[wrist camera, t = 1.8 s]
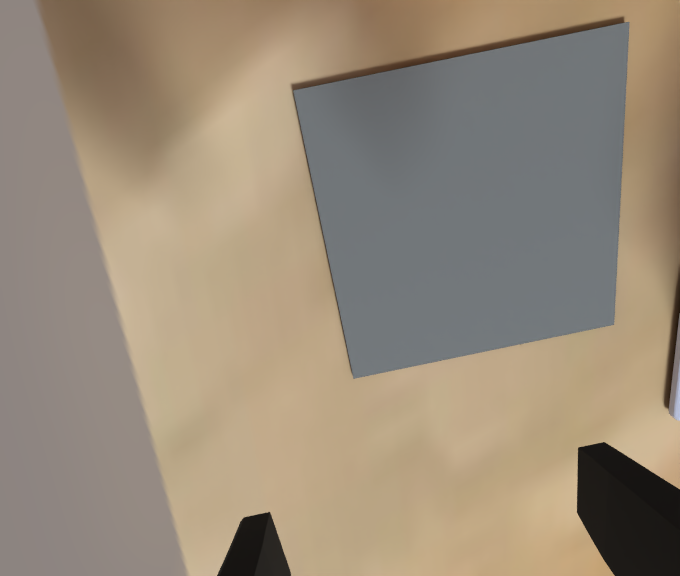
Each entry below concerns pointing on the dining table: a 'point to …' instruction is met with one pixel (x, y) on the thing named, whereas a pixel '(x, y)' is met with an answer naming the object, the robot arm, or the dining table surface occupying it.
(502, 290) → the slate mat
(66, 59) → the dining table surface
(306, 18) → the dining table surface
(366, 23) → the dining table surface
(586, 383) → the dining table surface
